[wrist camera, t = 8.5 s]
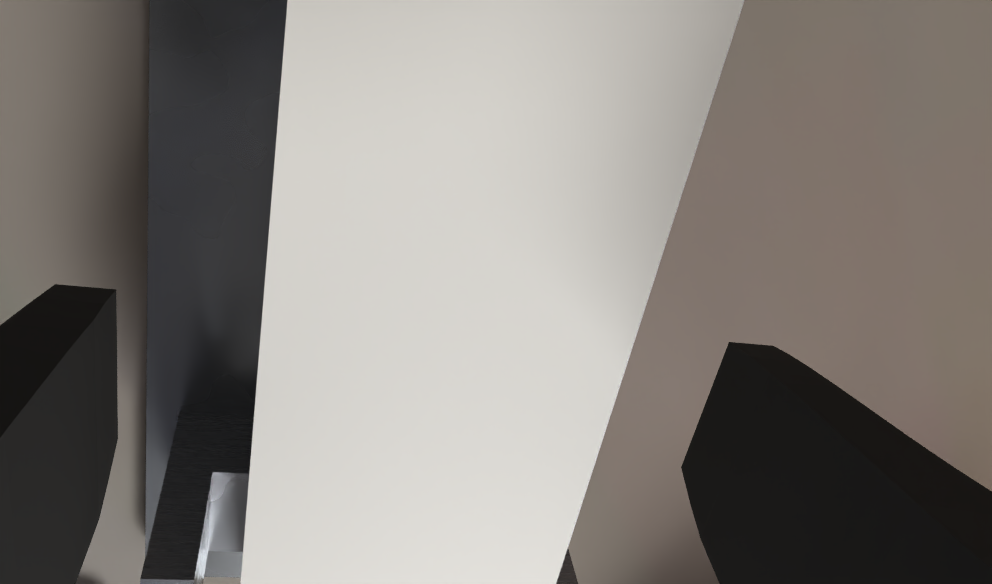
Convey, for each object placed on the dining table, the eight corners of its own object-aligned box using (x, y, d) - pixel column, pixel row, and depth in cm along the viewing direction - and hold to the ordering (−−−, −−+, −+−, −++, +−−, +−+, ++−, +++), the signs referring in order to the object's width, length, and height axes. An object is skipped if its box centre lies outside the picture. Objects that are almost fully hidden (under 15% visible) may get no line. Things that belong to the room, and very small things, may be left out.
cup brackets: (151, 547, 20) (103, 754, 16) (166, -675, 11) (58, -932, 7) (514, 557, 22) (554, 745, 18) (809, -475, 13) (1038, -575, 8)
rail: (245, 607, 18) (217, 866, 14) (344, -557, 10) (350, -778, 5) (440, 609, 19) (468, 854, 15) (694, -453, 11) (929, -576, 6)
